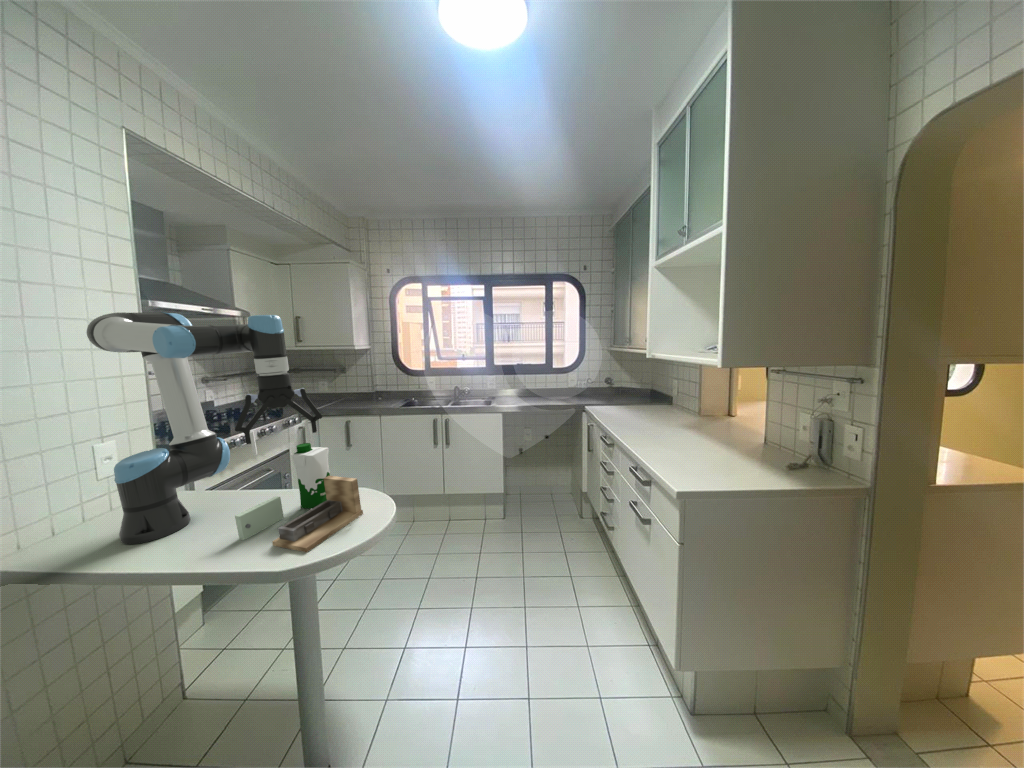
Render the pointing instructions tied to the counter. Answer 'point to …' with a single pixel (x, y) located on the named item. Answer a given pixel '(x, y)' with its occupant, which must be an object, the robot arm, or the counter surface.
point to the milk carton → (311, 474)
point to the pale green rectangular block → (259, 517)
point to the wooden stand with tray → (323, 516)
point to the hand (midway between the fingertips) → (284, 449)
